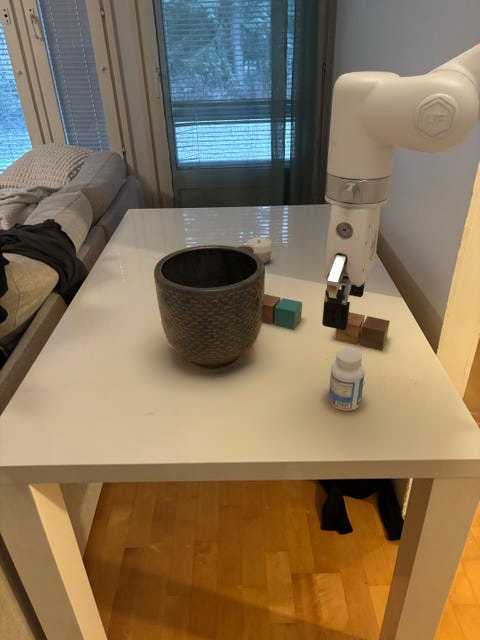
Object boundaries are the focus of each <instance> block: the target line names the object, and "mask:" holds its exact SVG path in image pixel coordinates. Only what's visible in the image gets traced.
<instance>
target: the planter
mask: <svg viewBox="0 0 480 640" xmlns="http://www.w3.org/2000/svg"><path fill="white" fill-rule="evenodd" d="M238 247H239V246H231V245H223V244H206V245H196V246H195V245H194V246H189V247H186V248H182V249H179V250H176V251H173V252H170V253H169V254H167V255H165V256H163V257H162V258H161V259H160V260H159V261H157V262H156V264H155V266H154V269H153V279H154V284H155V285H154V286H155V294H156V300H157V305H158V310H159V316H160V321H161V325H162V329H163V332H164V335H165V337H166V340H167V341H168V344H169V345H170V346H171V348H172V349H173V350H174V351H175V352H176V353H177V354H179V355H180V356H181V357H183V358H185V359H186V360H188V361H189V362H190V363H191V364H193V365H194V366H197V368H202V369H207V370H217V369H224V368H227V367H229V366H231V365H233V364H235V363H236V362H237V361H238V360H239V359H240V358H241V357H242V356H244V355H245V354H246V353H247V352H248V351H249V350H251V348H252V347H253V346H254V345H255V343H256V342H257V339H258V337H259V335H260V332H261V328H262V323H263V322H262V316H263V303H264V294H265V288H266V287H265V286H266V285H265V281H266V280H265V279H266V268H265V263H263V261H262V260H261V258H260V257H258V256H257V255H256V254H254V253H252V252H250V251H248V250H245V249H242V248H238Z"/></svg>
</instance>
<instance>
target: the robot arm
mask: <svg viewBox="0 0 480 640" xmlns="http://www.w3.org/2000/svg"><path fill="white" fill-rule="evenodd" d="M477 121H480V43H478V44H475V46H473V47H471V48H469V49H467V50H466V51H464V52H462V53H460V54H459V55H457V56H455V57H453V58H451V59H450V60H448V61H446V62H445V63H443V64H441V65H439V66H438V67H436V68H434V69H432V70H430V71H429V72H428V73H426V74H421V75H412V76H400V75H399V74H398V73H395V72H390V71H353V72H347V73H344V74H341V75H340V76H339V77H338V78H337V79H336V80H335V83H334V86H333V90H332V100H331V113H330V126H329V127H330V128H329V137H328V139H329V140H328V151H327V152H328V153H327V166H326V176H325V178H326V179H325V190H324V191H325V192H324V200H325V201H326V202H327V203H329V204H331V207H330V214H329V220H328V228H327V229H328V230H327V236H326V237H327V238H326V246H325V257H324V272H323V273H324V279H325V280H326V289H325V294H324V297H323V298H324V299H323V310H322V322H321V324H322V326H323V327H327V328H330V329H331V328H332V329H334V330H336V329H340V330H346V328H347V323H348V315H349V312H350V305H351V301H349V298H350V297H349V296H351V297H356V298H362V297H363V296H364V292H365V285H366V284H365V283H366V280H367V278H368V276H369V275H370V273H371V271H372V268H373V267H374V264H375V262H376V257H377V248H378V240H379V239H378V237H379V228H380V219H381V218H380V217H381V207H382V206H385V205H386V204H387V203H388V201H389V194H390V189H391V181H392V175H393V167H394V160H395V153H396V147H397V148H403V149H407V150H412V151H414V152H415V151H416V152H420V153H426V154H427V153H428V154H433V153H434V154H436V153H443V152H447V151H450V150H452V149H454V148H456V147H457V146H459V145H460V144H462V143H463V142H464V141H465V140H466V139H467V138H468V137H469V136H470V134H471V133H472V132H473V130H474V128H475V126H476V124H477ZM340 287H341V288H340Z"/></svg>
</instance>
